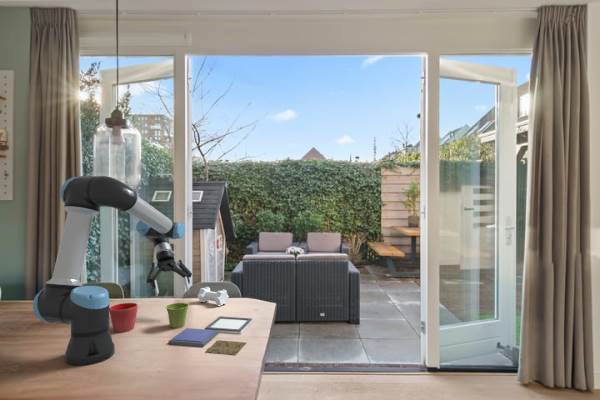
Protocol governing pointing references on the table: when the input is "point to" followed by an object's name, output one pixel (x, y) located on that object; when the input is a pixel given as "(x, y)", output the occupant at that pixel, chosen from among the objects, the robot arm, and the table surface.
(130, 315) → the flower pot
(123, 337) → the table surface
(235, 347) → the brown square mat
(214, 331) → the ink pad
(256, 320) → the table surface
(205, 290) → the bone shaped toy
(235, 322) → the marked board
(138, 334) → the table surface
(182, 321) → the plant pot
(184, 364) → the table surface
